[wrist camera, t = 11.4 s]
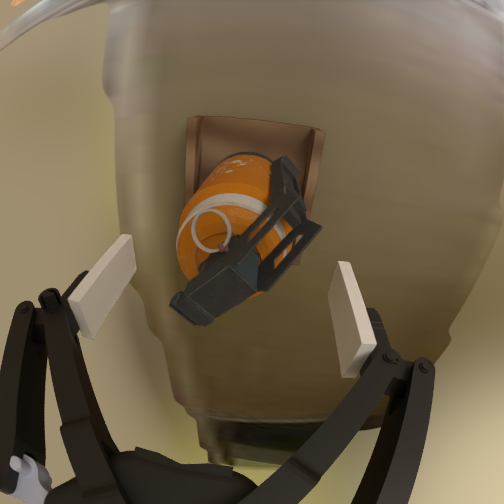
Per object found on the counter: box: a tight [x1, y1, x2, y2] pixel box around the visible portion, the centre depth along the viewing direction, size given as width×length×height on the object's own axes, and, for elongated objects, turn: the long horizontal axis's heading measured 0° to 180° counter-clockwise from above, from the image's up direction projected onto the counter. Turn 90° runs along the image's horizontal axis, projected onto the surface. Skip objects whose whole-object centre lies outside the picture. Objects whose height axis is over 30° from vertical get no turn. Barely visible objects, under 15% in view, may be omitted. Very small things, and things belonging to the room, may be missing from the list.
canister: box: [169, 152, 323, 327], centre depth 23 cm, size 9×11×20 cm
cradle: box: [185, 116, 325, 265], centre depth 32 cm, size 16×14×4 cm
